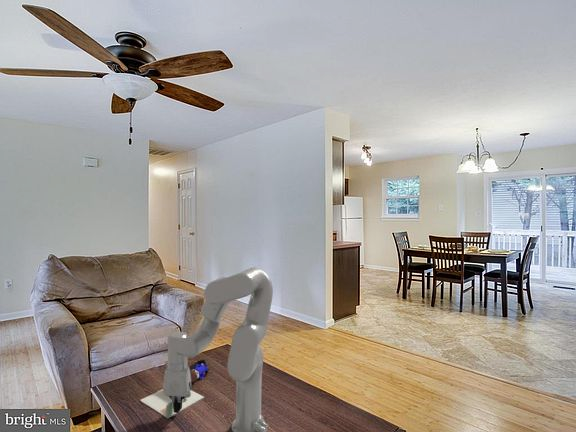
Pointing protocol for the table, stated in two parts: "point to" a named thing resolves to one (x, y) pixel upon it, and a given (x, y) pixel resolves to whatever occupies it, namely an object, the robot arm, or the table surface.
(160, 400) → the card
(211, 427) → the table surface
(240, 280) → the robot arm
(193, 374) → the character figurine
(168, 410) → the hinged fence panel
